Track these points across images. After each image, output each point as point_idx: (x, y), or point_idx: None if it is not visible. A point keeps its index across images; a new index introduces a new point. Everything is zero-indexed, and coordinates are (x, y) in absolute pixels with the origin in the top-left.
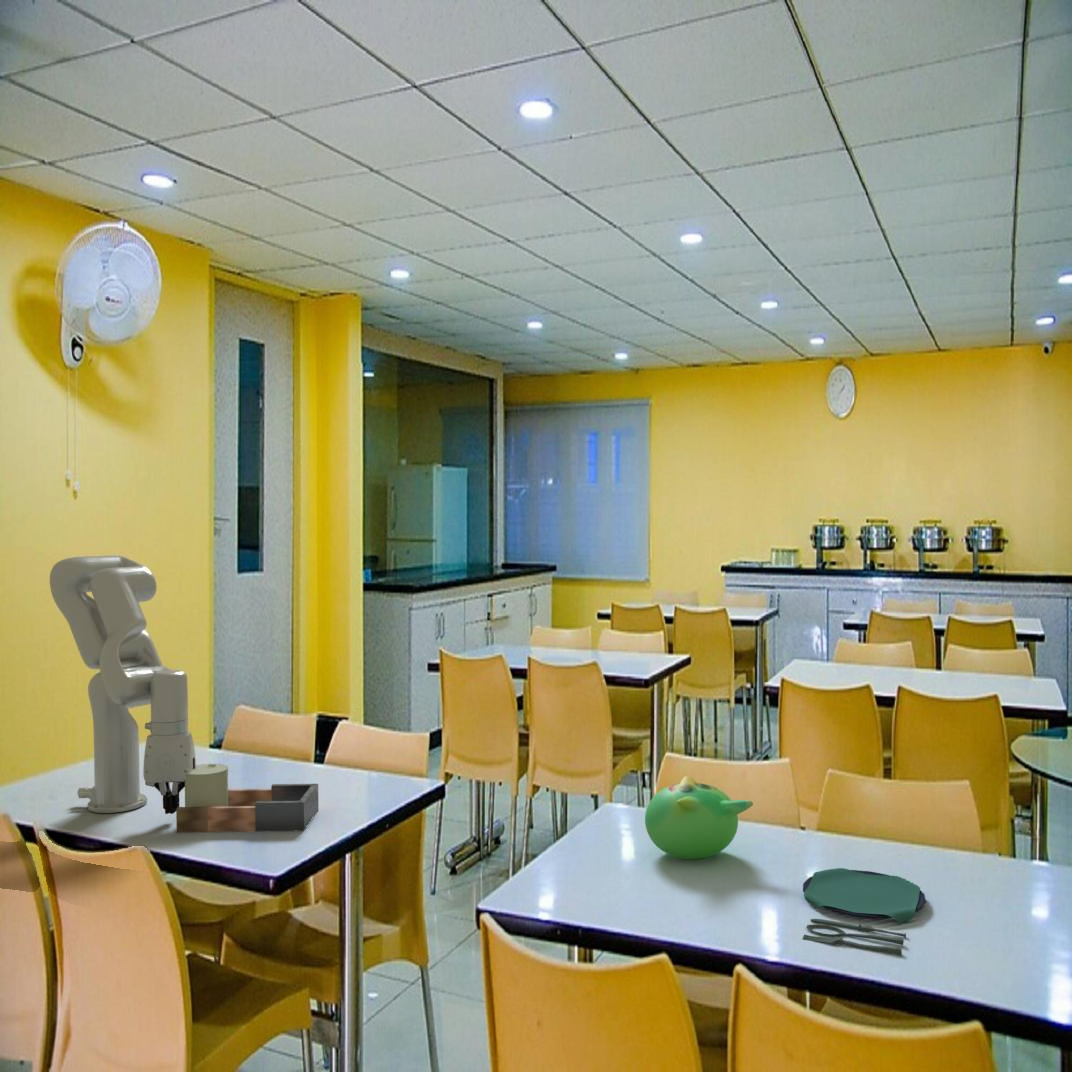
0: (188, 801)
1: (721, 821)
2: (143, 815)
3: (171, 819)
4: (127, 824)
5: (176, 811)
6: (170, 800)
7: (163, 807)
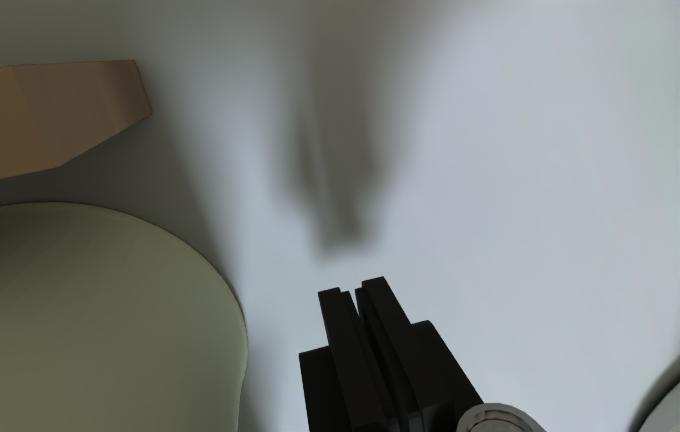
0: (23, 372)
1: None
2: (574, 350)
3: None
4: (615, 186)
5: (34, 65)
6: (359, 372)
7: (426, 322)
